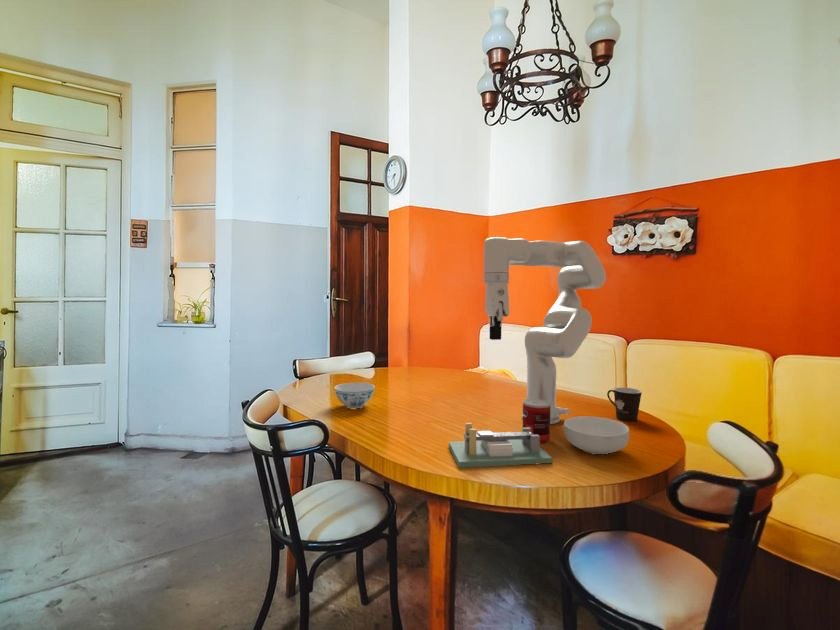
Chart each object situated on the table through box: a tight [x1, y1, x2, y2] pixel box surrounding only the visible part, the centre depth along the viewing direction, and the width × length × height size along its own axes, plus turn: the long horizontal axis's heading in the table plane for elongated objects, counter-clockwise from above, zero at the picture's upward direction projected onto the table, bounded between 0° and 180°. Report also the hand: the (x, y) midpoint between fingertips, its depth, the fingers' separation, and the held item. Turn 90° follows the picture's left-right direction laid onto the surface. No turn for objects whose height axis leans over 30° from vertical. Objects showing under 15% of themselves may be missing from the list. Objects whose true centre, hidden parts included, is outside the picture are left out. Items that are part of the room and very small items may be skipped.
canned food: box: [522, 398, 551, 443], centre depth 123 cm, size 8×8×11 cm
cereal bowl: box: [563, 415, 630, 455], centre depth 114 cm, size 17×17×7 cm
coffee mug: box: [606, 387, 642, 423], centre depth 144 cm, size 12×9×10 cm
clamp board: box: [448, 422, 553, 469], centre depth 110 cm, size 24×14×8 cm, turn 96°
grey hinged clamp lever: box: [463, 430, 534, 441], centre depth 110 cm, size 19×4×2 cm, turn 96°
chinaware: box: [334, 382, 376, 409], centre depth 156 cm, size 15×15×8 cm
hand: (495, 339), depth 126 cm, fingers closed
